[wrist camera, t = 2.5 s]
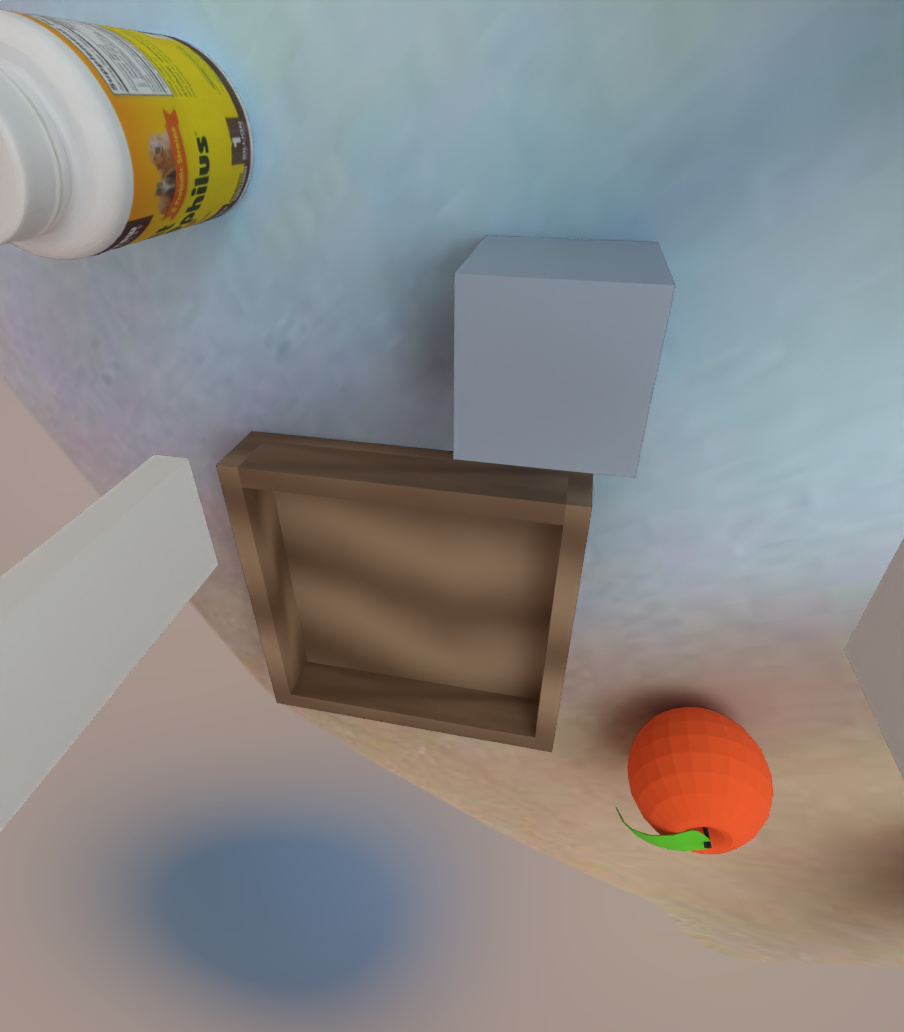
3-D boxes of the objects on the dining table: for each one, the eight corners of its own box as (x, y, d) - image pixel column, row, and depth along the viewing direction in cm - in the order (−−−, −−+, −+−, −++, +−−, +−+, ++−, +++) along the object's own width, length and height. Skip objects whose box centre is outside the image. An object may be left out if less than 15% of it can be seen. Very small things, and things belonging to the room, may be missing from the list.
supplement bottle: (214, 250, 24) (14, 328, 16) (94, 133, 22) (-199, 153, 14) (291, 133, 21) (93, 155, 13) (159, -10, 20) (-163, -90, 11)
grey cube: (486, 234, 22) (454, 273, 17) (658, 241, 21) (675, 285, 16) (481, 389, 25) (453, 459, 20) (628, 402, 24) (635, 478, 19)
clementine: (639, 770, 37) (646, 893, 31) (587, 701, 35) (584, 820, 29) (775, 745, 33) (812, 878, 28) (728, 665, 31) (757, 793, 25)
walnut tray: (251, 431, 29) (216, 465, 26) (593, 465, 26) (591, 507, 23) (299, 660, 38) (276, 702, 35) (555, 702, 35) (552, 752, 32)
